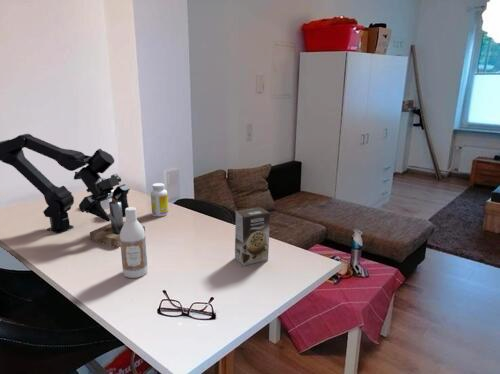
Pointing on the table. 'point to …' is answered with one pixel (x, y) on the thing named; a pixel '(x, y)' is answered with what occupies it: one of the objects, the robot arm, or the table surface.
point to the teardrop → (105, 202)
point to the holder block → (106, 236)
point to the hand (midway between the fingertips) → (119, 216)
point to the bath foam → (133, 246)
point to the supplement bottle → (159, 200)
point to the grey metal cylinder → (116, 216)
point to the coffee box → (252, 235)
